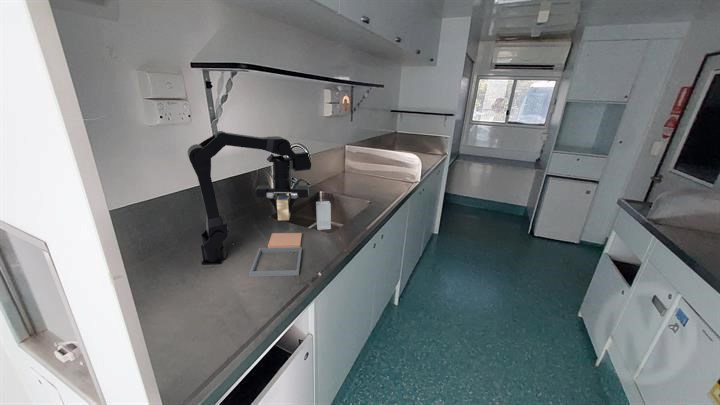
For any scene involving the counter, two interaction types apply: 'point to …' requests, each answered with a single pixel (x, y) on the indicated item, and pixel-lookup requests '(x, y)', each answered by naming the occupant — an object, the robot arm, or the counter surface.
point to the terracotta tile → (285, 240)
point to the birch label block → (283, 207)
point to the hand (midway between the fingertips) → (284, 212)
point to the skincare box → (323, 215)
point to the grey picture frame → (275, 273)
